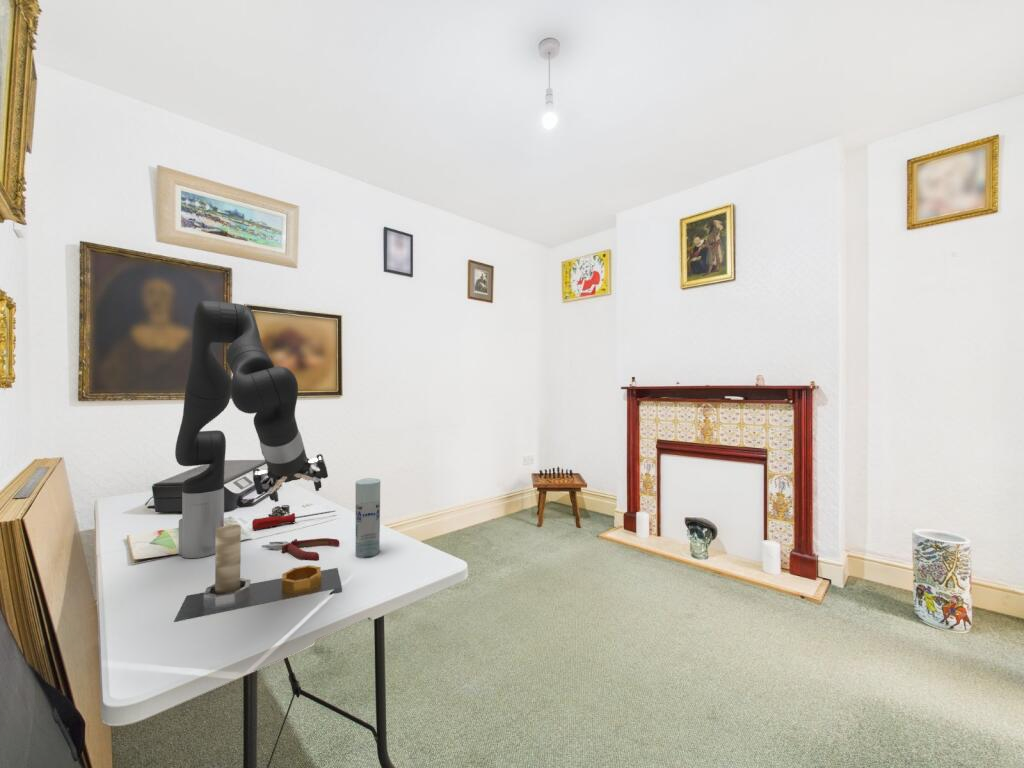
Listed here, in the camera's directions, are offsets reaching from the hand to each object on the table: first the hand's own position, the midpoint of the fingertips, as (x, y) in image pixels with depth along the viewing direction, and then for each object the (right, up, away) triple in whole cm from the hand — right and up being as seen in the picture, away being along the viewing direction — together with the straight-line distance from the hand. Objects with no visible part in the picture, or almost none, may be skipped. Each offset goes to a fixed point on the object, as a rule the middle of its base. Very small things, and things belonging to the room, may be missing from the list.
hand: (297, 493), depth 97 cm
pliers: (-9, -22, +21) cm, 31 cm away
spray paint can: (+10, -21, +18) cm, 30 cm away
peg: (-10, -20, -9) cm, 24 cm away
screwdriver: (-22, -21, +42) cm, 52 cm away
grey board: (-4, -21, -5) cm, 22 cm away
